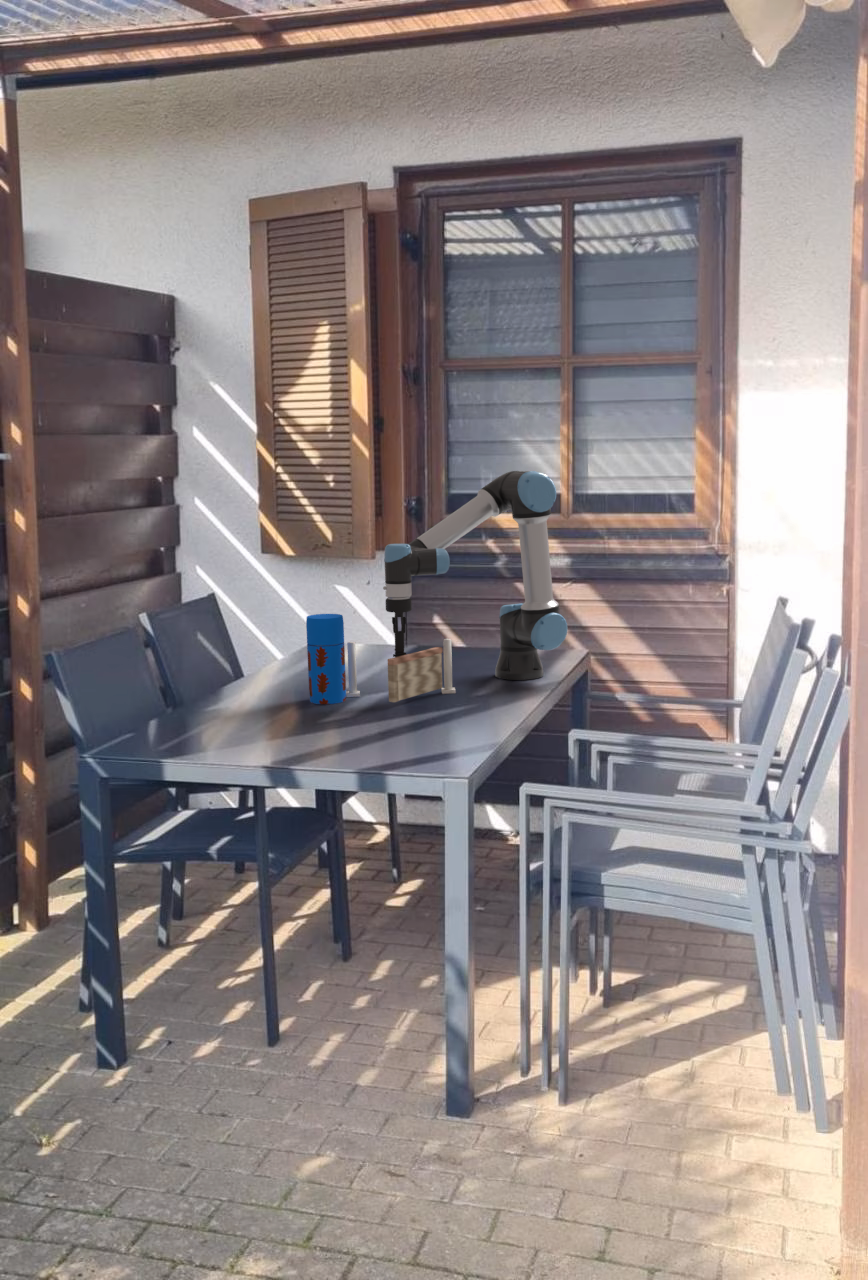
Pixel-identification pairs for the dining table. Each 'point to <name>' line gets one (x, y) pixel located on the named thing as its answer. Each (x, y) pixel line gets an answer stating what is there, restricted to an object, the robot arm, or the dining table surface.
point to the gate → (414, 674)
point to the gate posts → (353, 676)
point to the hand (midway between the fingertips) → (400, 677)
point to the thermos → (326, 658)
